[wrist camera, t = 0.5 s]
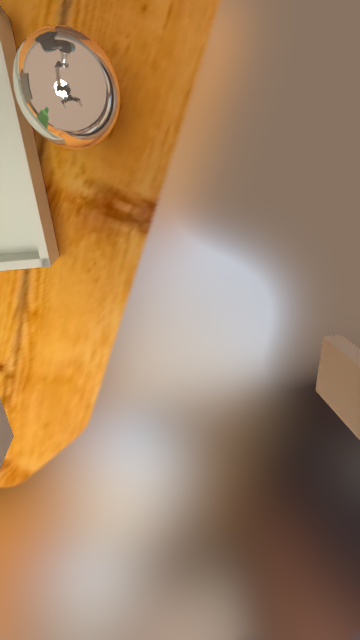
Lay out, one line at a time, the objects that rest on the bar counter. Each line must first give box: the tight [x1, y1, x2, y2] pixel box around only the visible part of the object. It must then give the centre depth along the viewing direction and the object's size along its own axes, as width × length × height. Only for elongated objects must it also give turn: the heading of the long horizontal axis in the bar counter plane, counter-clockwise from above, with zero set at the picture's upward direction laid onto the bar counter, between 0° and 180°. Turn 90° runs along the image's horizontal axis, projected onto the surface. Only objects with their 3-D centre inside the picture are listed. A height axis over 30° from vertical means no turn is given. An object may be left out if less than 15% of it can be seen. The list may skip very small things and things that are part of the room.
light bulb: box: [13, 25, 120, 149], centre depth 25 cm, size 7×7×12 cm
